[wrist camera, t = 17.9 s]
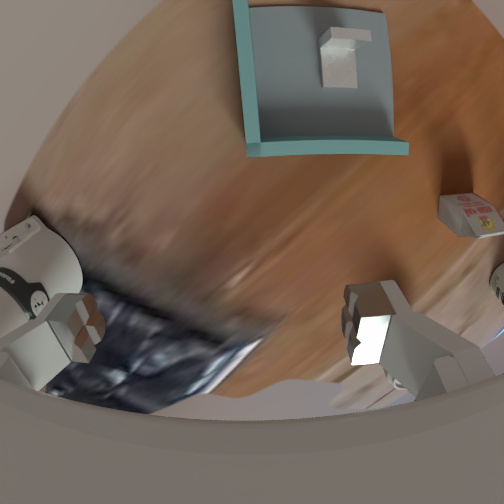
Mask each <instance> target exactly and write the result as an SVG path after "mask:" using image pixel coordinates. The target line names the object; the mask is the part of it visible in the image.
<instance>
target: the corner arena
mask: <svg viewBox="0 0 504 504" xmlns="http://www.w3.org/2000/svg"><path fill="white" fill-rule="evenodd" d="M232 1H233V11H234V21H235V32H236V42H237V53H238V63H239V74H240V85H241V95H242V106H243V117H244V128H245V139H246V150H247V158H249V157H263V156H280V155H303V154H391V155H408V153H409V142H406V141H404V140H401V139H398V138H395V137H394V113H393V84H392V68H391V55H390V45H389V36H388V28H387V20H386V14H383V13H377V12H370V11H363V10H354V9H344V8H332V7H312V6H275V7H256V8H249V5H248V0H232ZM330 27H340V28H352V29H362V30H370V31H371V39H372V41H371V42H369V43H367V44H365V45H363V46H361V47H359V48H357V49H355V59H356V72H357V87H358V88H355V89H354V88H323V87H322V86H321V72H320V60H319V49H318V39H319V38H320V37H321V36H322V35H323V34H324V33H325V32H326V31H327V30H328V29H329V28H330Z"/></svg>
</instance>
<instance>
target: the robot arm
mask: <svg viewBox="0 0 504 504" xmlns="http://www.w3.org/2000/svg"><path fill="white" fill-rule="evenodd" d="M82 281H83V278H82V271H81V267H80V264H79V261H78V259H77V257H76V255H75V254H74V252H73V250H72V249H71V247H70V246H69V245H68V244H67V243H66V242H65V240H63V239H62V238H61V237H60V236H59V235H58V234H56V233H55V232H53V231H51V230H50V229H48V228H47V227H46V226H45V225H44V224H43V223H42V221H41V220H40V219H39V218H38V217H37V216H35V215H33V216H31V217H29V218H27V219H25V220H24V221H22V222H20V223H18V224H17V225H15V226H13V227H11V228H10V229H8V230H6V231H5V232H3V233H1V234H0V504H504V373H503V374H500V375H498V376H495V374H494V372H493V370H492V369H491V367H490V365H489V364H488V362H487V360H486V358H485V356H484V355H483V353H482V351H481V350H480V348H479V347H478V346H477V345H475V344H473V343H472V342H470V341H468V340H466V339H465V338H463V337H461V336H460V335H458V334H456V333H454V332H453V331H451V330H449V329H447V328H446V327H444V326H442V325H441V324H439V323H437V322H435V321H434V320H432V319H430V318H428V317H427V316H425V315H423V314H421V313H419V312H413V310H412V308H411V307H410V305H409V303H408V302H407V300H406V298H405V297H404V295H403V293H402V292H401V290H400V288H399V287H398V285H397V284H396V282H395V281H394V280H386V281H378V282H372V283H362V284H351V285H346V286H345V290H344V299H345V302H346V305H345V306H344V307H343V308H342V317H341V318H342V331H343V335H344V338H345V339H346V340H348V347H347V350H348V353H349V357H350V361H351V364H352V365H357V364H367V363H375V362H379V364H380V365H381V366H382V367H383V368H384V369H385V370H386V371H388V372H389V373H390V374H391V375H392V376H393V377H394V378H395V379H396V380H397V381H398V382H399V383H400V384H402V385H403V386H404V387H405V388H406V389H407V390H408V391H409V392H410V393H411V394H412V395H413V396H415V397H416V398H415V400H414V402H409V403H405V404H400V405H395V406H391V407H385V408H380V409H375V410H369V411H363V412H356V413H349V414H342V415H334V416H325V417H315V418H303V419H289V420H265V421H221V420H198V419H184V418H173V417H164V416H155V415H147V414H140V413H133V412H127V411H121V410H115V409H109V408H104V407H99V406H94V405H90V404H85V403H81V402H76V401H72V400H68V399H64V398H60V397H57V396H53V395H49V394H46V393H43V392H39V390H40V389H41V388H42V387H43V386H45V385H46V384H47V383H48V382H49V381H50V380H51V379H52V378H53V377H54V376H56V375H57V374H58V373H59V372H60V371H61V370H62V369H63V368H64V367H66V366H67V365H68V364H69V363H70V361H75V362H84V363H89V362H90V360H91V358H92V356H93V355H94V353H95V351H96V346H95V344H97V343H98V342H100V341H101V340H102V338H103V336H104V331H105V323H104V319H103V317H102V314H101V313H99V312H98V311H97V310H96V306H97V303H96V301H95V299H94V297H93V296H92V295H90V294H80V293H79V292H80V290H81V287H82Z"/></svg>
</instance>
